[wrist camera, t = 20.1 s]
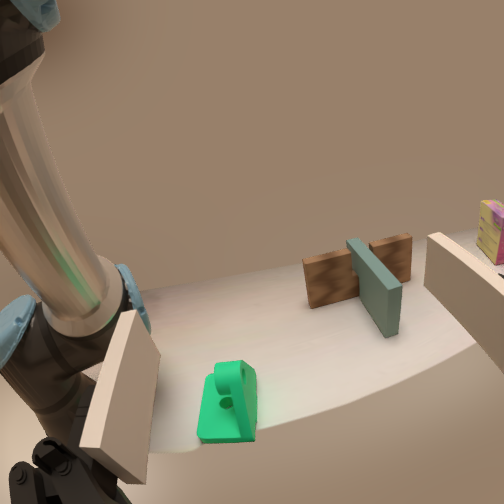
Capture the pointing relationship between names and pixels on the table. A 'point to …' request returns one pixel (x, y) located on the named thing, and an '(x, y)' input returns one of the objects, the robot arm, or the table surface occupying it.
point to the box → (492, 230)
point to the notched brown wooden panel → (344, 278)
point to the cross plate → (376, 288)
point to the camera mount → (229, 404)
